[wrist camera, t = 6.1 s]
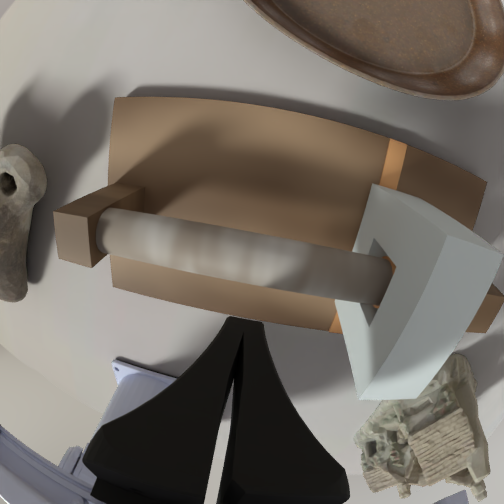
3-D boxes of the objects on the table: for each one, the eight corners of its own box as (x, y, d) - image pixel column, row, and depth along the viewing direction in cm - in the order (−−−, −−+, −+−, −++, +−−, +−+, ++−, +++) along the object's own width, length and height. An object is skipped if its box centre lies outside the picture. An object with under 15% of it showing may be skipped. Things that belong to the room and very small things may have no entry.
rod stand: (415, 331, 18) (445, 393, 12) (119, 279, 18) (71, 335, 12) (478, 178, 12) (545, 208, 7) (124, 98, 13) (48, 93, 7)
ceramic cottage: (474, 335, 17) (528, 476, 4) (468, 403, 23) (491, 494, 10) (323, 401, 23) (321, 547, 10) (365, 445, 28) (369, 537, 15)
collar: (378, 308, 15) (416, 398, 9) (334, 301, 15) (358, 399, 9) (420, 198, 12) (504, 254, 6) (372, 183, 12) (447, 234, 6)
